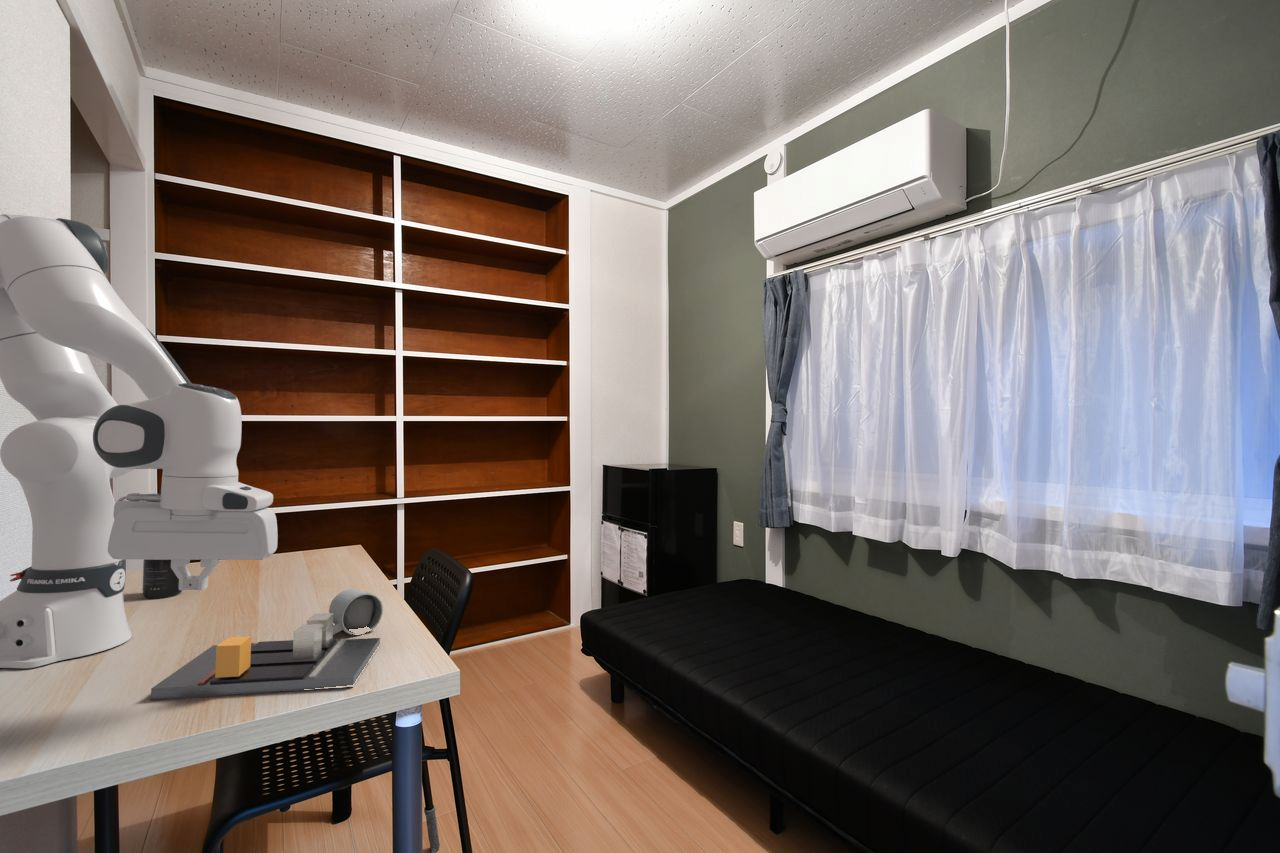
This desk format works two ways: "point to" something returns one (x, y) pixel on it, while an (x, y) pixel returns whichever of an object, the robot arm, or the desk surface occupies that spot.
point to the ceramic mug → (355, 610)
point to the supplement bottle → (159, 579)
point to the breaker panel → (277, 665)
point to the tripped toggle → (233, 657)
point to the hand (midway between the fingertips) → (193, 589)
